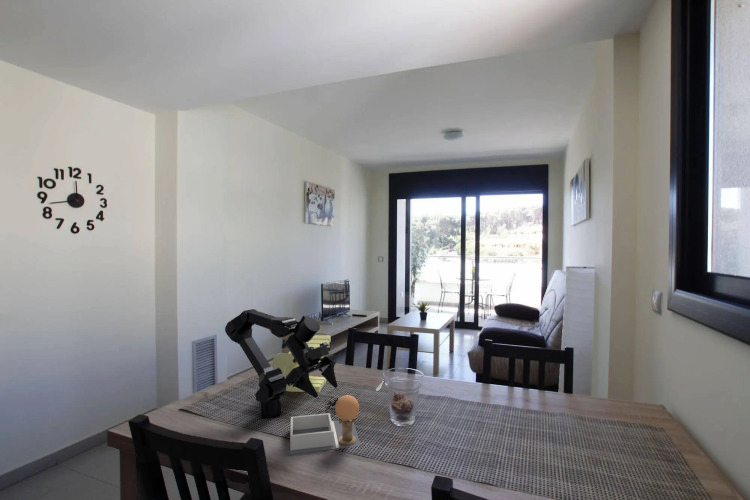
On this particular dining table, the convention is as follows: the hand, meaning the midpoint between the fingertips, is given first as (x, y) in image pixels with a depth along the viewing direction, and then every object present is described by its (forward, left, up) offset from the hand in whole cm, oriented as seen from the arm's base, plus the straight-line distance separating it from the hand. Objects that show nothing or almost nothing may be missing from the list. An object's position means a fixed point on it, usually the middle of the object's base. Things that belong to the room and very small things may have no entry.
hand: (327, 391), depth 113 cm
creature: (+4, +18, -14) cm, 23 cm away
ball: (+5, -5, -3) cm, 8 cm away
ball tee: (+5, -5, -13) cm, 15 cm away
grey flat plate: (-1, 0, -13) cm, 13 cm away
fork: (+27, +40, -14) cm, 50 cm away
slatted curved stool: (-6, +44, -14) cm, 47 cm away
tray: (-5, -1, -13) cm, 14 cm away
